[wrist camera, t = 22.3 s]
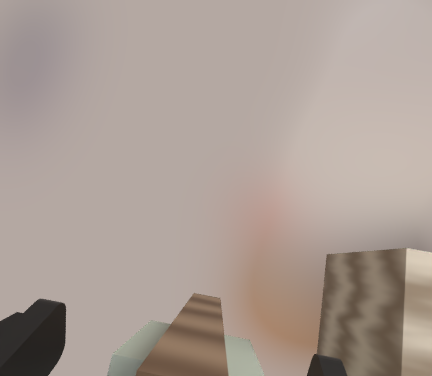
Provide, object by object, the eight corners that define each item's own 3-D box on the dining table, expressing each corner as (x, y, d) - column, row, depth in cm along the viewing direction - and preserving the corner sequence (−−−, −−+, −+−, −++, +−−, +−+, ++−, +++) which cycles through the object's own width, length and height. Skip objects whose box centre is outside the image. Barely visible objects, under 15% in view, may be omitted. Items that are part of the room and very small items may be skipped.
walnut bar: (212, 503, 9) (230, 389, 10) (112, 481, 9) (136, 370, 10) (215, 326, 34) (220, 298, 35) (188, 321, 35) (194, 293, 35)
